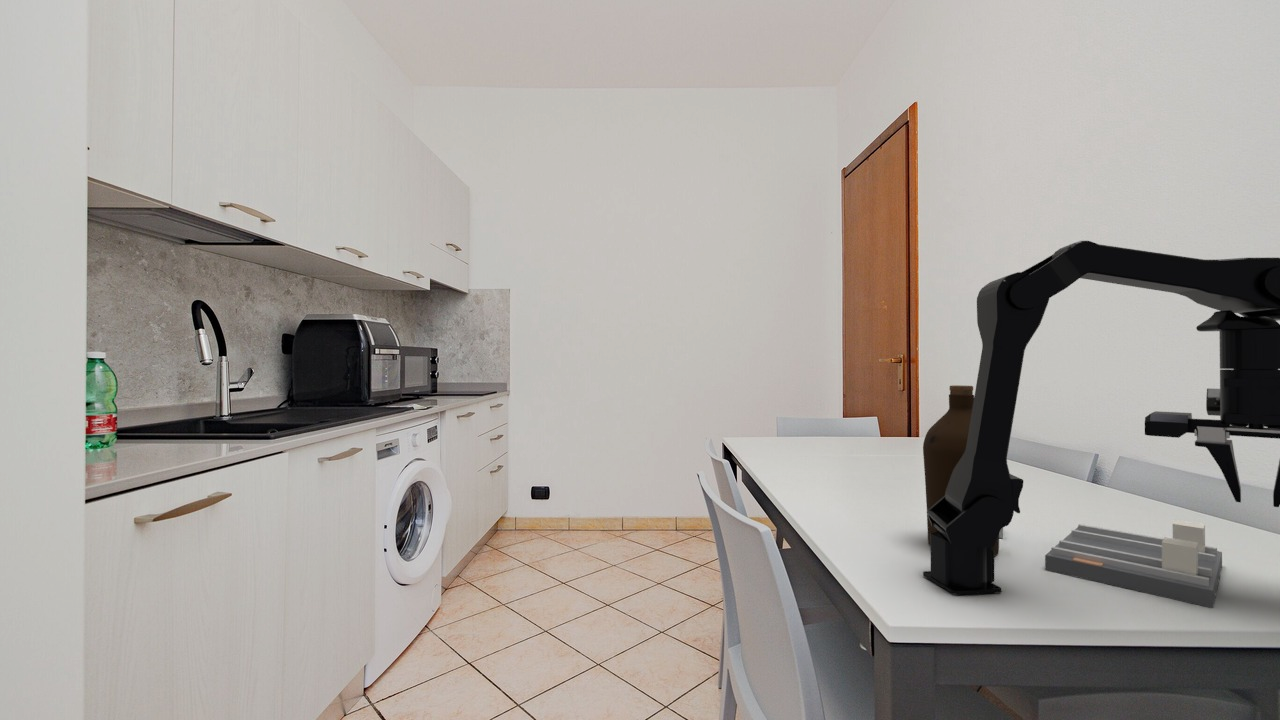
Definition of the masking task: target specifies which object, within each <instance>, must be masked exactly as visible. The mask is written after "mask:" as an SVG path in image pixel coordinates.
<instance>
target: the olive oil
mask: <svg viewBox="0 0 1280 720" xmlns="http://www.w3.org/2000/svg"><path fill="white" fill-rule="evenodd" d="M973 391H974V386H973V385H958V384H957V385H953V384H952V385H949V394H948V407H949V408H948V410H947V411H946V412H945V413H944V414H943V415H942V416H941V417H940V418H939V419H937V421H936V422H935V423H934V424H932V426H931V427H929V429H927V432H926V434H925V437H924V440H923V444H922V453H923V455H922V456H923V467H924V468H923V469H924V481H925V482H924V483H925V484H924V485H925V497H926V499H925V503H926V511H927V510H928V509H929V508H931V507H932V506H933V505H934V504H935V503H936V502H938V501H939V500H940V499H941V498H942V497H943V496H945V492H946V488H947V486H948V483H949V480H950V478H951V475H952V472H953V470H954V468H955V466H956V465H957V463H958V462H959V460H960V459H961V457H962V456H963V454H964V452H965V450H966V445H967V439H968V433H969V427H970V420H971V414H972V408H973V402H974V396H975V394H973V393H974V392H973ZM926 519H927V520H926V524H927V525H926V527H927V542H928V545H929V546H930V533H935V532H936V531H938V530H937V529H936V528H935V527H933V526H932V525H931V523H930V520H929V518H928V515H927V514H926ZM992 549H993V550H994V557H996V556H998V555H999V552H1000V538H999V535H998V537H997V540H996V542H995V544H994V547H992Z"/></svg>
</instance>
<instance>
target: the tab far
mask: <svg viewBox="0 0 1280 720" xmlns="http://www.w3.org/2000/svg"><path fill="white" fill-rule="evenodd" d="M1172 539H1178V540H1184V541H1190V542H1196V543H1198V552H1202V553H1205V546H1206V524H1205V523H1200V522H1191V521H1185V520H1178V519H1174V521H1173V522H1172Z"/></svg>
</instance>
